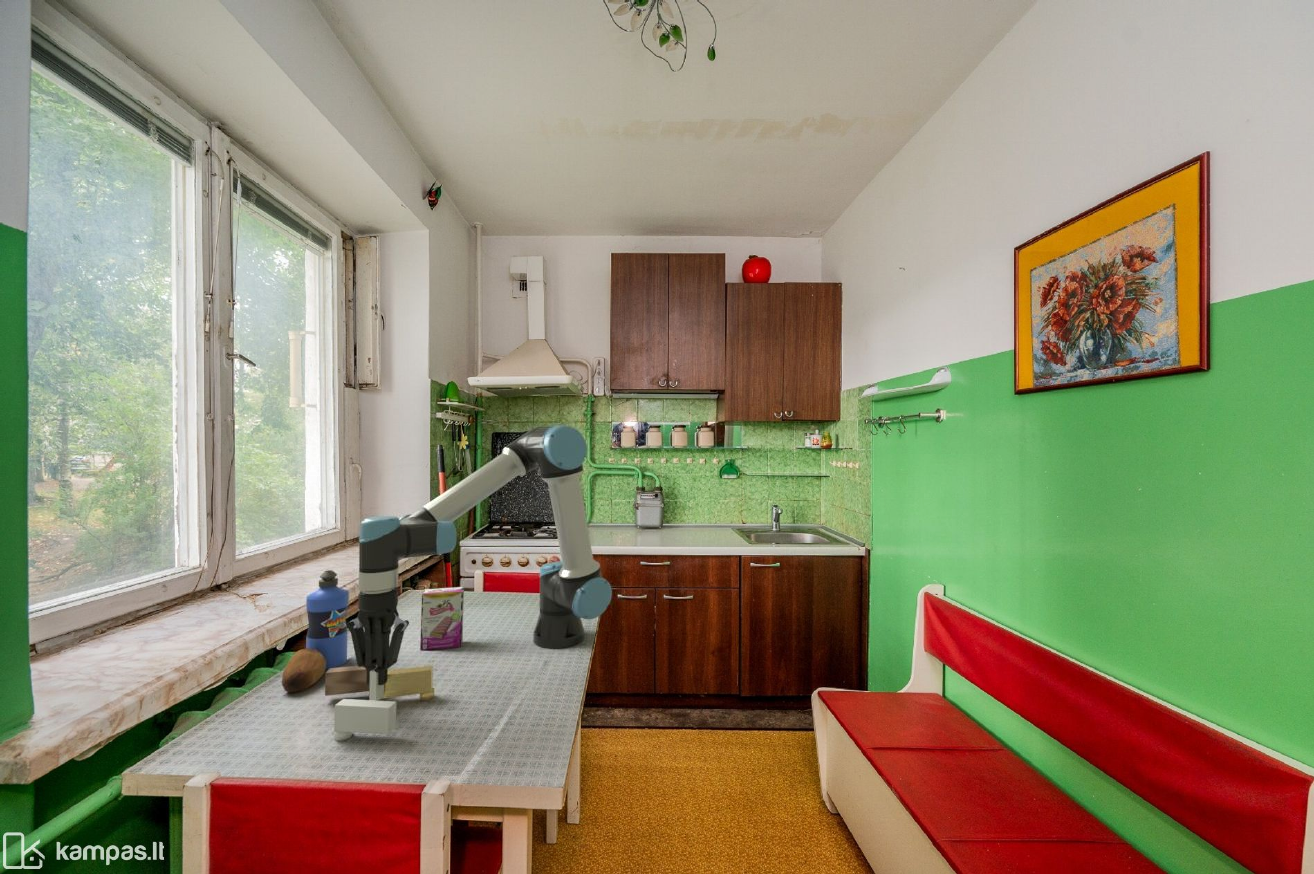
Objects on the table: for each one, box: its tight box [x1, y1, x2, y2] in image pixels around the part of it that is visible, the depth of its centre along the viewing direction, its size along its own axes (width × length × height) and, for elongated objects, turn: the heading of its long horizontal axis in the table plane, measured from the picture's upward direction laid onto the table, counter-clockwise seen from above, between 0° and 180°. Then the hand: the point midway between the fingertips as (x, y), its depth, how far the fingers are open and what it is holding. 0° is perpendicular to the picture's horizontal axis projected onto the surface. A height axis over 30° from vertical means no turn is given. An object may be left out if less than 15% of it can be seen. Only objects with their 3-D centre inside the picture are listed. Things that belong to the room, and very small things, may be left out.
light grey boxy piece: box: [333, 698, 397, 742], centre depth 97 cm, size 12×3×7 cm, turn 85°
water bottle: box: [305, 570, 350, 675], centre depth 131 cm, size 9×9×25 cm
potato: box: [281, 647, 326, 694], centre depth 120 cm, size 8×14×8 cm
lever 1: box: [324, 665, 377, 697], centre depth 113 cm, size 12×3×7 cm, turn 104°
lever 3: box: [381, 665, 435, 702], centre depth 112 cm, size 12×3×7 cm, turn 106°
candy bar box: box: [419, 586, 465, 652], centre depth 145 cm, size 11×5×16 cm, turn 108°
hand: (376, 698), depth 108 cm, fingers closed
